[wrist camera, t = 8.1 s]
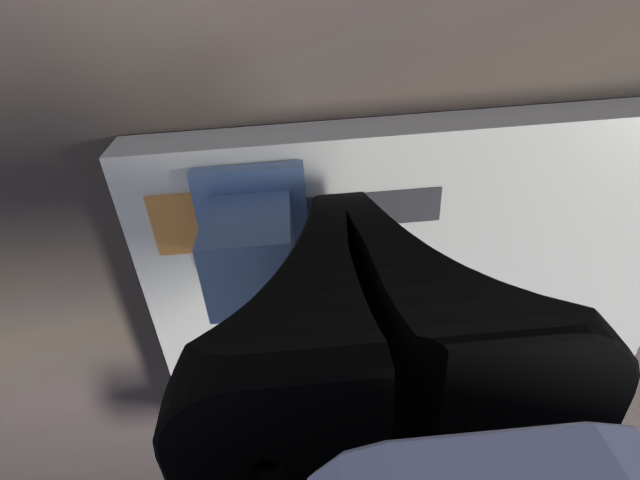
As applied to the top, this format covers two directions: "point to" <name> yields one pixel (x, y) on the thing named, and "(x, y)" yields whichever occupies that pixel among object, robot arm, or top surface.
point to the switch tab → (244, 228)
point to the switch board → (417, 198)
